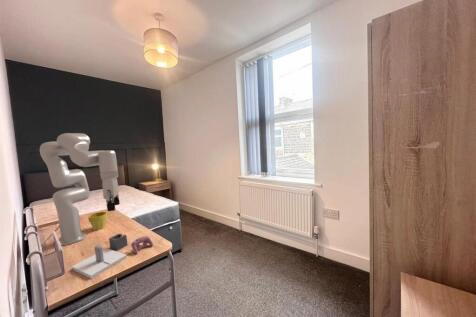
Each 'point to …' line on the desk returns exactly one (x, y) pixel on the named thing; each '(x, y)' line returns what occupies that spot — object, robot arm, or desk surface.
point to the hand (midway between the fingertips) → (114, 207)
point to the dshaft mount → (98, 262)
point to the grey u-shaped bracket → (118, 241)
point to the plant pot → (98, 220)
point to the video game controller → (143, 240)
